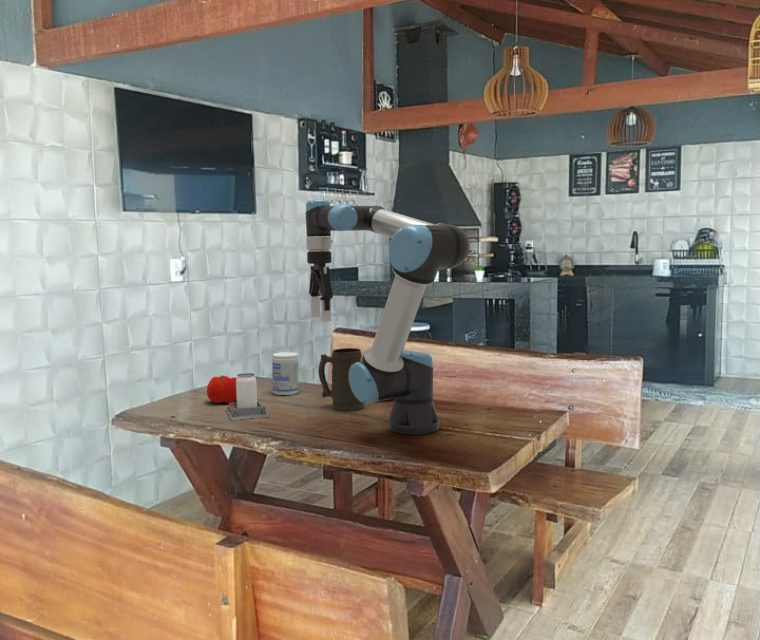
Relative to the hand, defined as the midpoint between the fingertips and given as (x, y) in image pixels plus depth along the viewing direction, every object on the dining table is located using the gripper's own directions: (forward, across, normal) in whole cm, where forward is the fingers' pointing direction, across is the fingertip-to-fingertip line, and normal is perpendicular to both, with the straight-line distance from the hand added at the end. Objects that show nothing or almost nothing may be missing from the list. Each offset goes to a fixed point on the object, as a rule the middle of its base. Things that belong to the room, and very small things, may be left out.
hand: (321, 319), depth 226 cm
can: (+31, +15, +22) cm, 41 cm away
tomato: (+32, +35, +27) cm, 54 cm away
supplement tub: (+32, +41, +4) cm, 52 cm away
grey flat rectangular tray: (+31, +15, +22) cm, 41 cm away
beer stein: (+32, +12, -9) cm, 35 cm away
